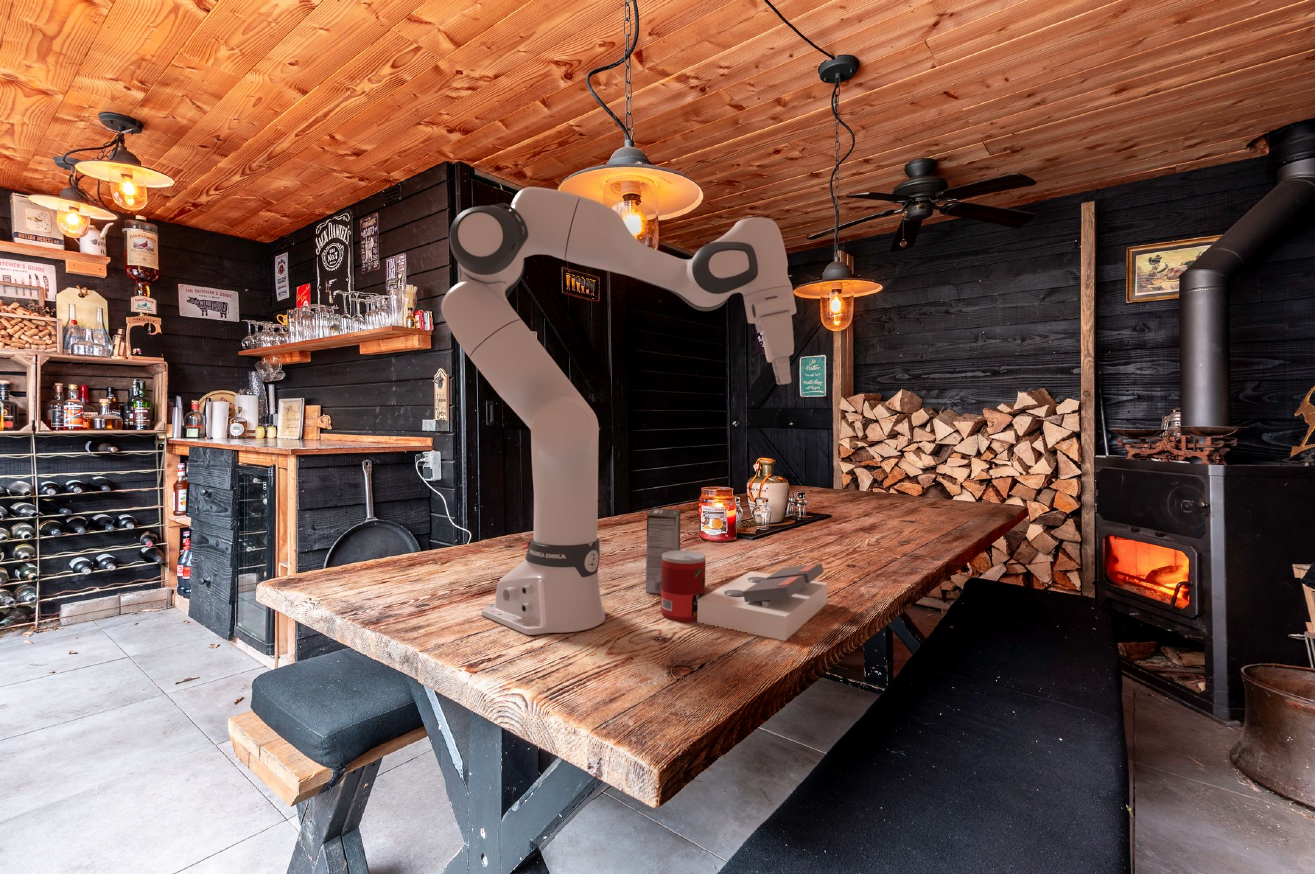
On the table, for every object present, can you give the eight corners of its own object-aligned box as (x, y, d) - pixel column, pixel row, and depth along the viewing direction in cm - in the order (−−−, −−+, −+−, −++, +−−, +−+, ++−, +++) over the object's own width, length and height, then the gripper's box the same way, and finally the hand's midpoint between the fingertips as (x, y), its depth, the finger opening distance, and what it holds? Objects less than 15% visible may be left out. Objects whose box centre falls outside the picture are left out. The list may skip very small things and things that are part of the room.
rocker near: (745, 602, 104) (742, 590, 104) (764, 589, 112) (762, 579, 112) (788, 597, 100) (786, 586, 100) (805, 585, 108) (803, 574, 108)
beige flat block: (697, 622, 106) (697, 593, 106) (750, 590, 127) (751, 566, 127) (785, 641, 98) (785, 610, 98) (826, 603, 119) (827, 578, 118)
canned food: (701, 623, 106) (702, 561, 105) (656, 619, 107) (657, 558, 107) (706, 610, 113) (708, 551, 113) (664, 606, 115) (665, 549, 114)
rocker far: (768, 587, 114) (766, 576, 114) (784, 576, 121) (782, 567, 122) (809, 582, 110) (806, 572, 110) (823, 572, 117) (821, 562, 117)
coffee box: (651, 581, 132) (652, 507, 132) (680, 582, 132) (681, 508, 131) (644, 593, 123) (645, 514, 123) (675, 594, 123) (677, 515, 122)
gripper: (751, 319, 120) (764, 387, 121) (754, 305, 100) (769, 387, 101) (783, 312, 120) (796, 381, 120) (793, 296, 99) (808, 379, 100)
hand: (784, 384), depth 111 cm, fingers open, 8 cm apart
